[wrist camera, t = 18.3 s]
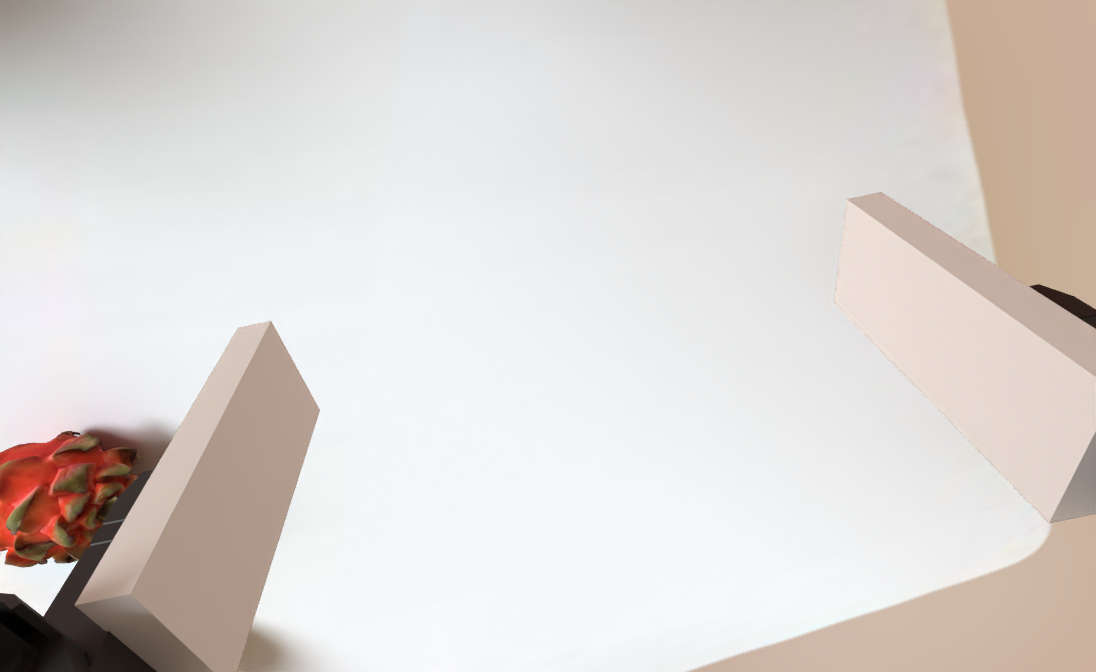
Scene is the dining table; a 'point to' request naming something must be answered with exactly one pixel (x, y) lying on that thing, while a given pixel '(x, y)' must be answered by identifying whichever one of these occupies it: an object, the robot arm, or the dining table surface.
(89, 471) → the dragon fruit
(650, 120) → the dining table surface
